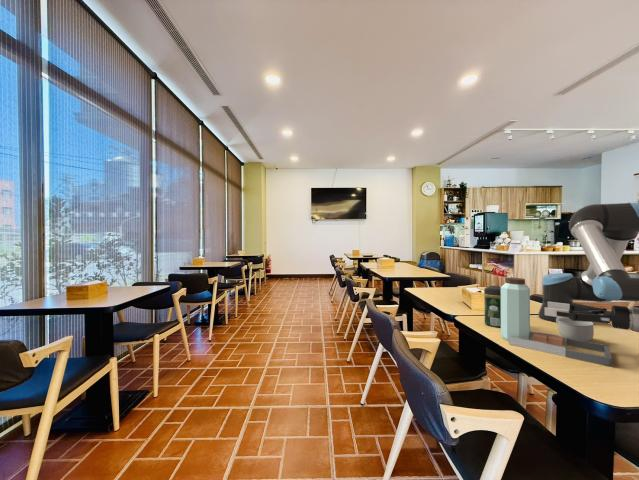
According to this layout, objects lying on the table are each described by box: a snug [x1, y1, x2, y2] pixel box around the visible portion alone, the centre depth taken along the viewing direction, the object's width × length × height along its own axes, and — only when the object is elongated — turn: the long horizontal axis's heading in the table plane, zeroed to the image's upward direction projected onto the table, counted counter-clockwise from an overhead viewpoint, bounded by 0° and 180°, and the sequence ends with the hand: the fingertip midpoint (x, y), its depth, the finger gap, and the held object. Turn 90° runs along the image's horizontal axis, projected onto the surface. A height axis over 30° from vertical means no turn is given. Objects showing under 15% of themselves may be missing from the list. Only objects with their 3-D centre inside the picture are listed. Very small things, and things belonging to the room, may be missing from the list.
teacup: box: [555, 317, 595, 342], centre depth 113 cm, size 14×11×8 cm
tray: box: [564, 338, 613, 367], centre depth 98 cm, size 11×16×2 cm
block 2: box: [547, 335, 564, 346], centre depth 104 cm, size 4×4×4 cm
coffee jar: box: [483, 285, 501, 328], centre depth 133 cm, size 10×8×19 cm
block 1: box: [532, 333, 548, 343], centre depth 107 cm, size 4×4×4 cm
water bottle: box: [500, 277, 531, 342], centre depth 112 cm, size 10×10×25 cm
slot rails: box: [508, 330, 568, 357], centre depth 107 cm, size 16×15×3 cm
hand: (546, 307), depth 105 cm, fingers open, 13 cm apart
